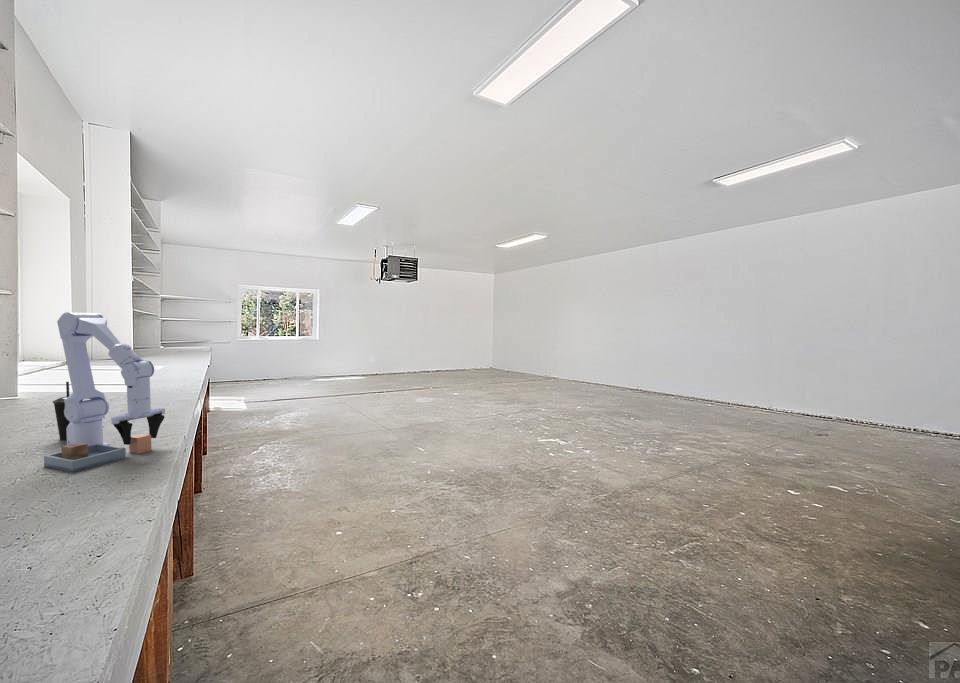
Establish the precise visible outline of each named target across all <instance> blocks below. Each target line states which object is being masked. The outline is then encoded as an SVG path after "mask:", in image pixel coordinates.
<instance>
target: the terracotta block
mask: <svg viewBox="0 0 960 683" xmlns="http://www.w3.org/2000/svg"><path fill="white" fill-rule="evenodd" d="M128 447H129V449H128V450H129V451H128V452H129V453H132V454H142V453H145V452H149V451H152V438H151V435H149V434H147V433H140V434H139V433H138V434H136V435H135V434H134V435H131V444H129V445H128Z"/></svg>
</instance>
